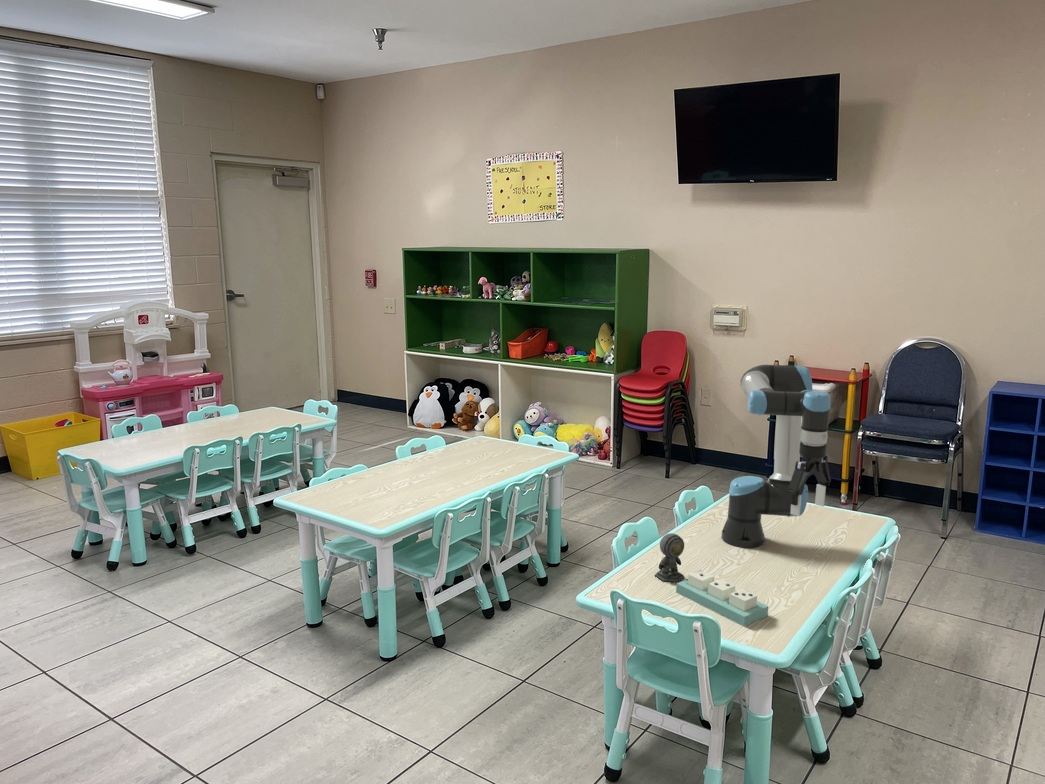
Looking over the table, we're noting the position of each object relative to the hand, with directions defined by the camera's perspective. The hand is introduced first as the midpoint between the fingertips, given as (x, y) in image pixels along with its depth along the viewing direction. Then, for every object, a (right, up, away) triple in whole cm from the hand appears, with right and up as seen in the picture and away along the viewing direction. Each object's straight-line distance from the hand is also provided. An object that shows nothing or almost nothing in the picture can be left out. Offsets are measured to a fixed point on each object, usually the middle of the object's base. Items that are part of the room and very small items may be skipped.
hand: (807, 510), depth 238 cm
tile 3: (-22, -27, -9) cm, 36 cm away
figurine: (-39, -24, +16) cm, 49 cm away
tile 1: (-32, -25, +4) cm, 40 cm away
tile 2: (-27, -26, -2) cm, 38 cm away
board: (-27, -28, -2) cm, 39 cm away
